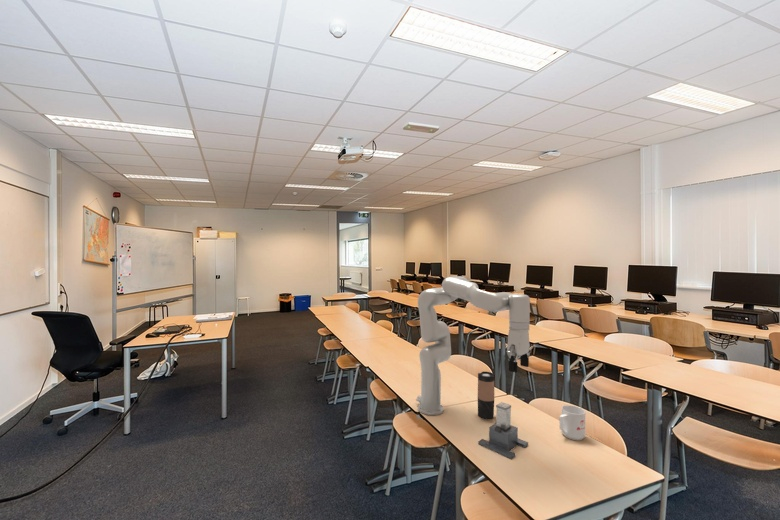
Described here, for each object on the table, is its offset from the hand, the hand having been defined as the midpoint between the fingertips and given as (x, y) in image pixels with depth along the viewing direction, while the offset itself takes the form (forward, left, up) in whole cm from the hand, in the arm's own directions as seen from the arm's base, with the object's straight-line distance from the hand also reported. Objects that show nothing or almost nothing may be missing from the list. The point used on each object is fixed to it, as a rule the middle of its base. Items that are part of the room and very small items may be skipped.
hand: (518, 368), depth 134 cm
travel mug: (-23, +14, -31) cm, 41 cm away
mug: (+11, +24, -31) cm, 41 cm away
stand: (-5, -3, -31) cm, 32 cm away
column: (-5, -3, -31) cm, 32 cm away
